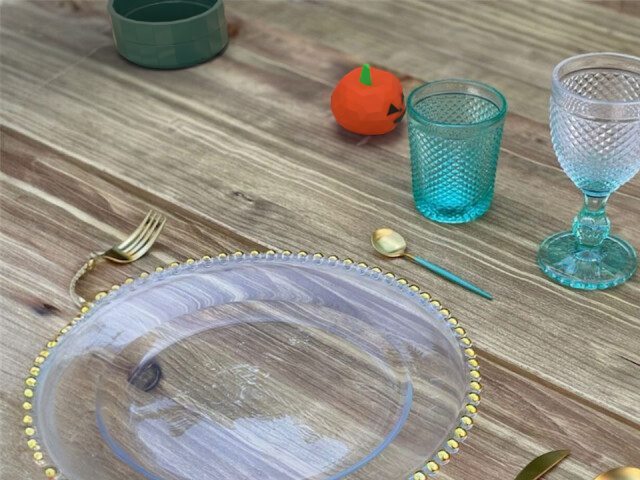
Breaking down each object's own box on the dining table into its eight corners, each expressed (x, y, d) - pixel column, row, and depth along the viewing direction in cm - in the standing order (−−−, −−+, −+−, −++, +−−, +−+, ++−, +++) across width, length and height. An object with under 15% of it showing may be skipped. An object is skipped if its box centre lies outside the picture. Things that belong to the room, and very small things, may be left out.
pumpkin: (400, 104, 94) (400, 41, 89) (410, 145, 88) (411, 80, 83) (329, 108, 93) (325, 45, 88) (334, 150, 87) (330, 85, 83)
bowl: (111, 73, 98) (100, 27, 95) (123, 24, 107) (113, -20, 103) (227, 68, 99) (221, 21, 96) (230, 19, 108) (224, -25, 104)
